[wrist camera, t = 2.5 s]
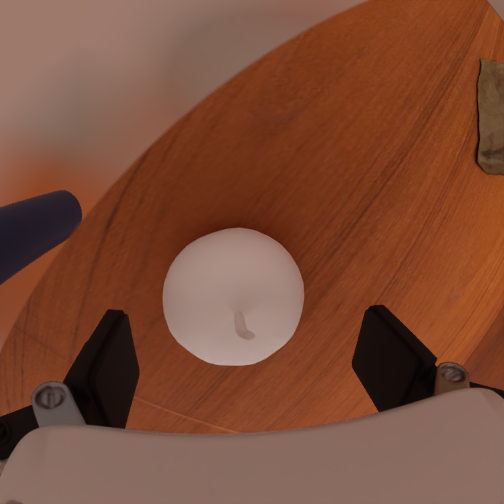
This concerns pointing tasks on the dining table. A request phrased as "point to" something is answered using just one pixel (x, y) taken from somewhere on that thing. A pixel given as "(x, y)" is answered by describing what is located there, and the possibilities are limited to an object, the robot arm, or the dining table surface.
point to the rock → (491, 117)
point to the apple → (233, 297)
